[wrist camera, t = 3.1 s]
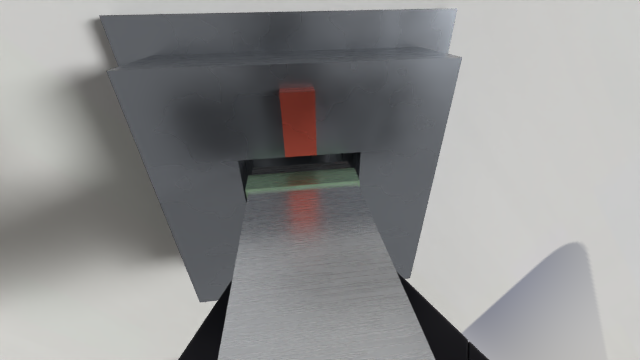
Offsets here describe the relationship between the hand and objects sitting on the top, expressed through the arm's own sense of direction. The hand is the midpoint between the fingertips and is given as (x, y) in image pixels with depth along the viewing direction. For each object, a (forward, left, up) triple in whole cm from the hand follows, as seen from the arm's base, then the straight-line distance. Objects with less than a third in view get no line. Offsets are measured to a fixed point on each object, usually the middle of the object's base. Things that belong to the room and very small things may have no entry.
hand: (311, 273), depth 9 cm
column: (0, 0, -5) cm, 5 cm away
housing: (0, 0, -8) cm, 8 cm away
